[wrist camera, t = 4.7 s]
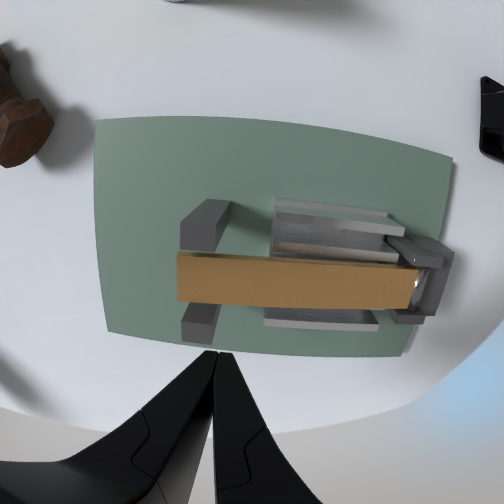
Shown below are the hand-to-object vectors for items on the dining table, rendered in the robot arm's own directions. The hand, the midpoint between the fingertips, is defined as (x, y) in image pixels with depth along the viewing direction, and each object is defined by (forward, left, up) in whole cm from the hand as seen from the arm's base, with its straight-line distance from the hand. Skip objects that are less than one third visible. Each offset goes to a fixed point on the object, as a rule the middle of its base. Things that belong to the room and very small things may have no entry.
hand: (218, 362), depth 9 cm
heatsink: (-5, 0, -11) cm, 12 cm away
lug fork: (+2, 0, -11) cm, 11 cm away
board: (-2, 0, -12) cm, 12 cm away
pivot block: (-10, 0, -11) cm, 15 cm away
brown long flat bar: (-4, 0, -7) cm, 8 cm away
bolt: (+21, -12, -12) cm, 27 cm away
